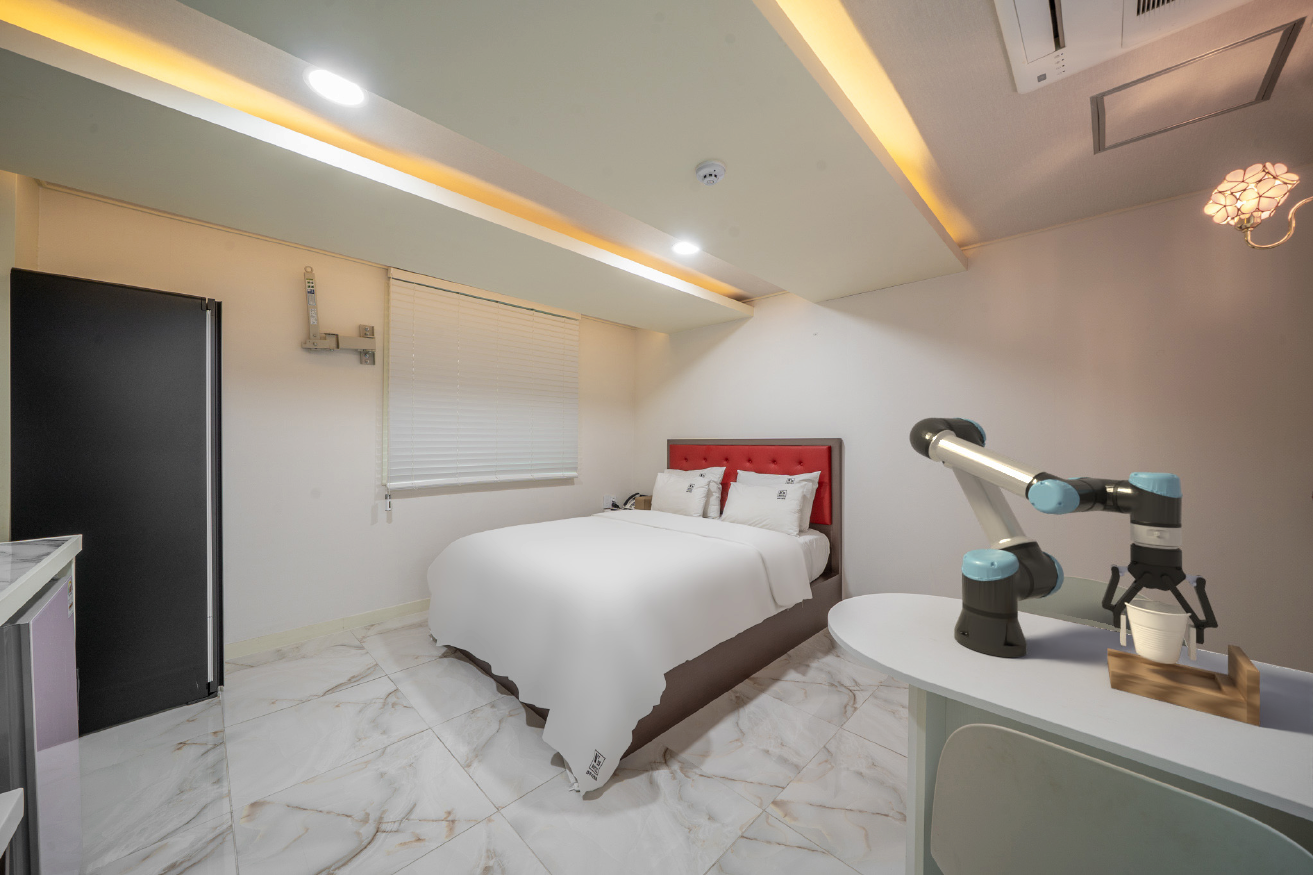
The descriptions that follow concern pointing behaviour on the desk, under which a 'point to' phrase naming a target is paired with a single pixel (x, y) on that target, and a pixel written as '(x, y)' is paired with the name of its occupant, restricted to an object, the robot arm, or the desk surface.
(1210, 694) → the bracket shelf
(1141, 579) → the robot arm
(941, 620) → the desk surface
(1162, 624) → the cup
